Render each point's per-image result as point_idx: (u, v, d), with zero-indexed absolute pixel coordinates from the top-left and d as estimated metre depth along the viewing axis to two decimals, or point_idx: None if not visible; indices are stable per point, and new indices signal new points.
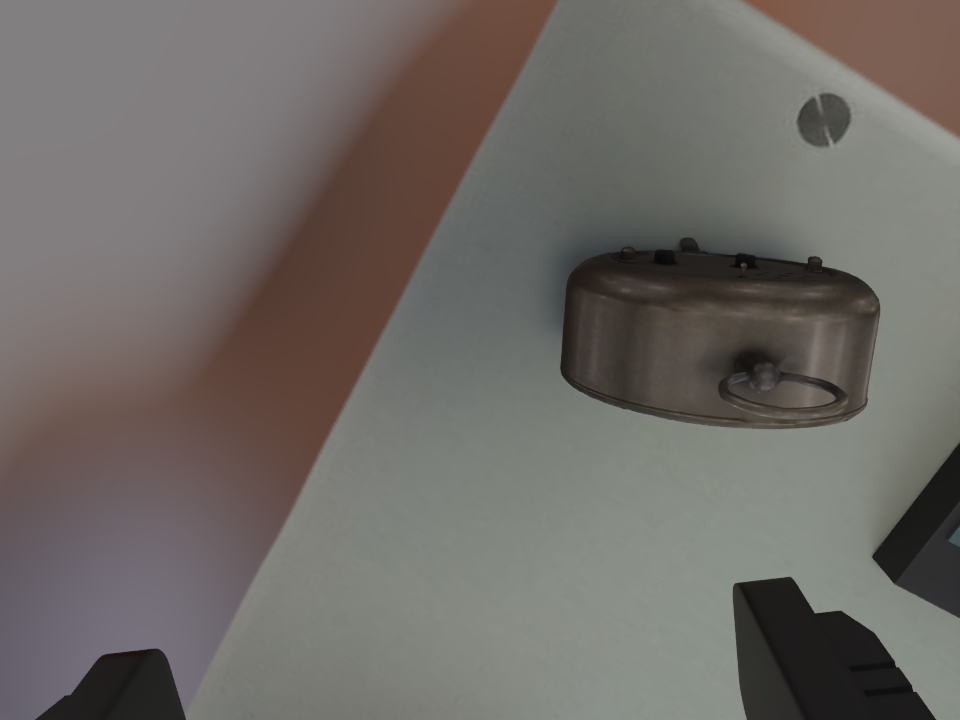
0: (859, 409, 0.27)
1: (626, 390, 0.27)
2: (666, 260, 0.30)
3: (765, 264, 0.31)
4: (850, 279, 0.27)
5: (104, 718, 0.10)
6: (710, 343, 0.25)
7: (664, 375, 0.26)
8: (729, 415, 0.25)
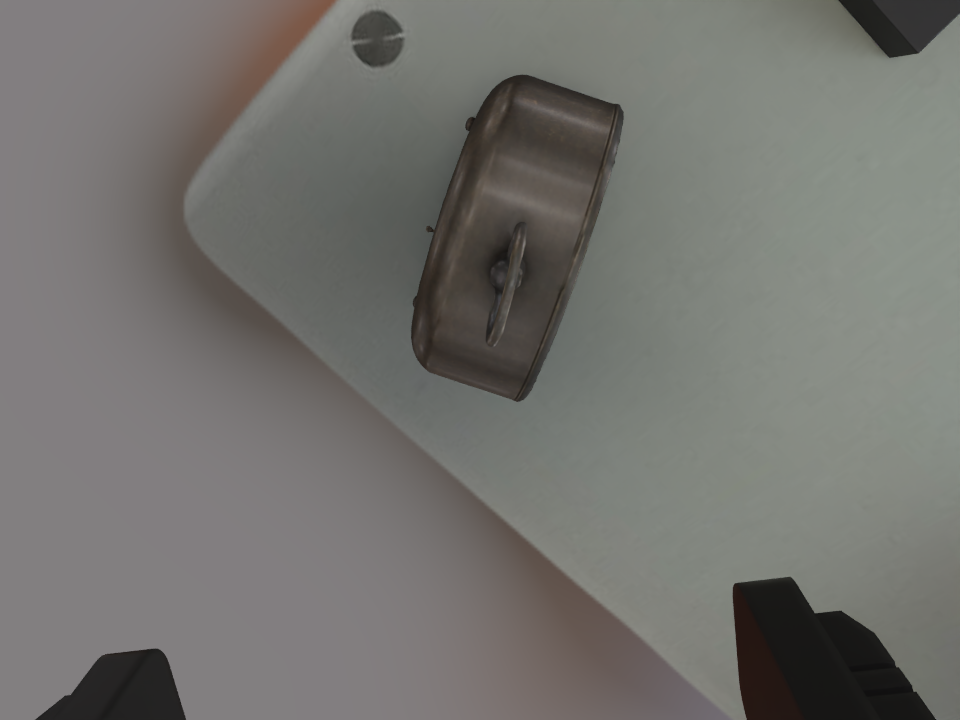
0: (609, 141, 0.25)
1: (515, 376, 0.26)
2: None
3: None
4: (477, 114, 0.26)
5: (104, 718, 0.10)
6: (475, 301, 0.25)
7: (501, 345, 0.25)
8: (553, 300, 0.24)
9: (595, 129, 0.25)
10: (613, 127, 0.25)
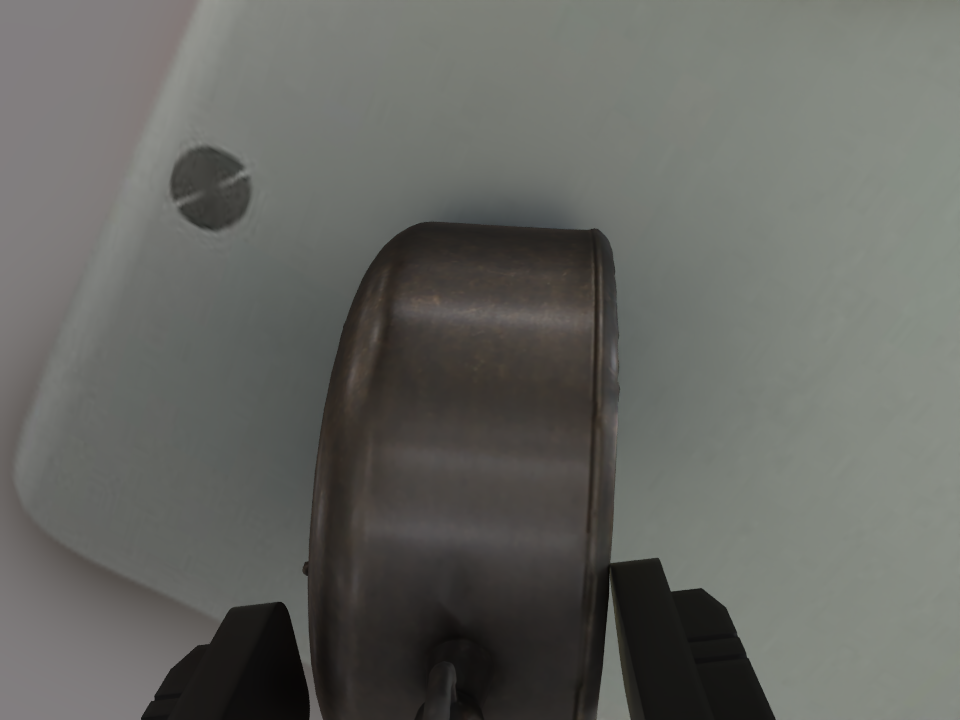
0: (598, 347, 0.12)
1: None
2: None
3: None
4: (339, 342, 0.14)
5: (249, 661, 0.10)
6: None
7: None
8: (569, 707, 0.12)
9: (565, 325, 0.12)
10: (599, 309, 0.13)
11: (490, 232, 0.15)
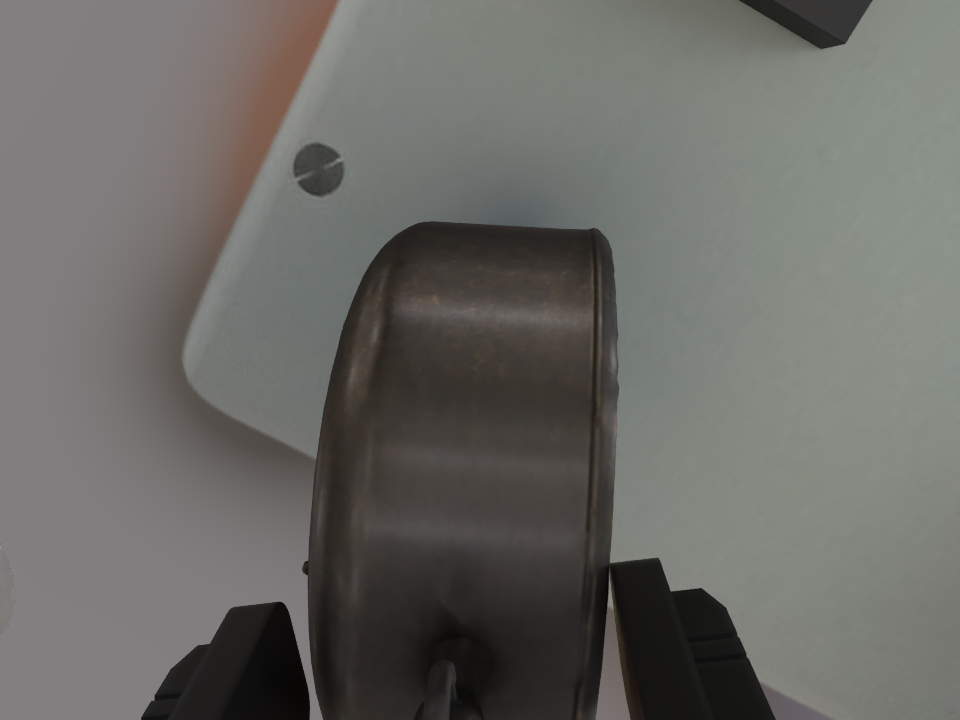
0: (597, 346, 0.12)
1: None
2: None
3: None
4: (339, 341, 0.14)
5: (249, 660, 0.10)
6: None
7: None
8: (568, 706, 0.12)
9: (564, 325, 0.12)
10: (598, 309, 0.13)
11: (489, 232, 0.15)
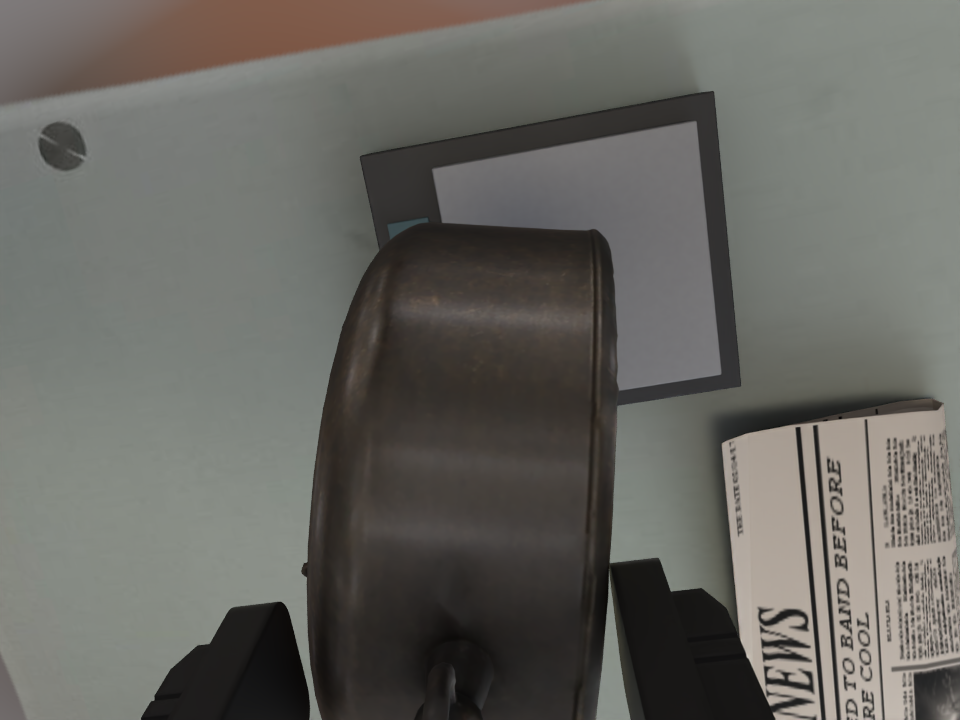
0: (597, 348, 0.12)
1: None
2: None
3: None
4: (338, 342, 0.14)
5: (249, 660, 0.10)
6: None
7: None
8: (568, 708, 0.12)
9: (564, 326, 0.12)
10: (598, 310, 0.13)
11: (489, 232, 0.15)
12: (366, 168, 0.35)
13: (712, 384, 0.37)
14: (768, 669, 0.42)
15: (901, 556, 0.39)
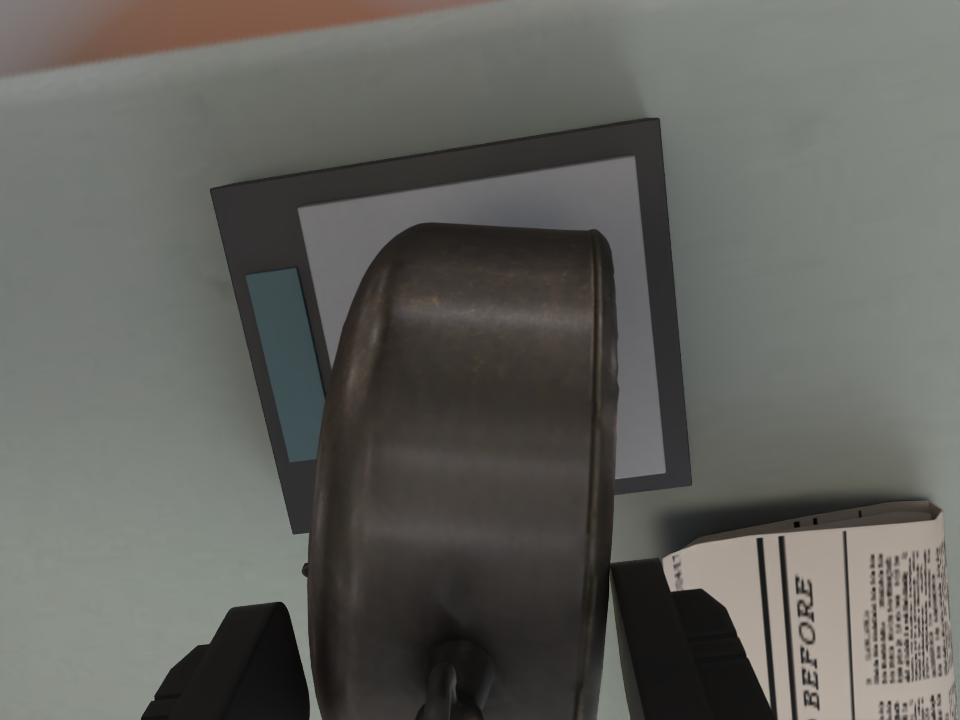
0: (597, 348, 0.12)
1: None
2: None
3: None
4: None
5: (249, 661, 0.10)
6: None
7: None
8: (569, 708, 0.12)
9: (564, 326, 0.12)
10: (599, 310, 0.13)
11: (489, 232, 0.15)
12: (218, 204, 0.27)
13: (656, 482, 0.30)
14: None
15: (887, 695, 0.32)
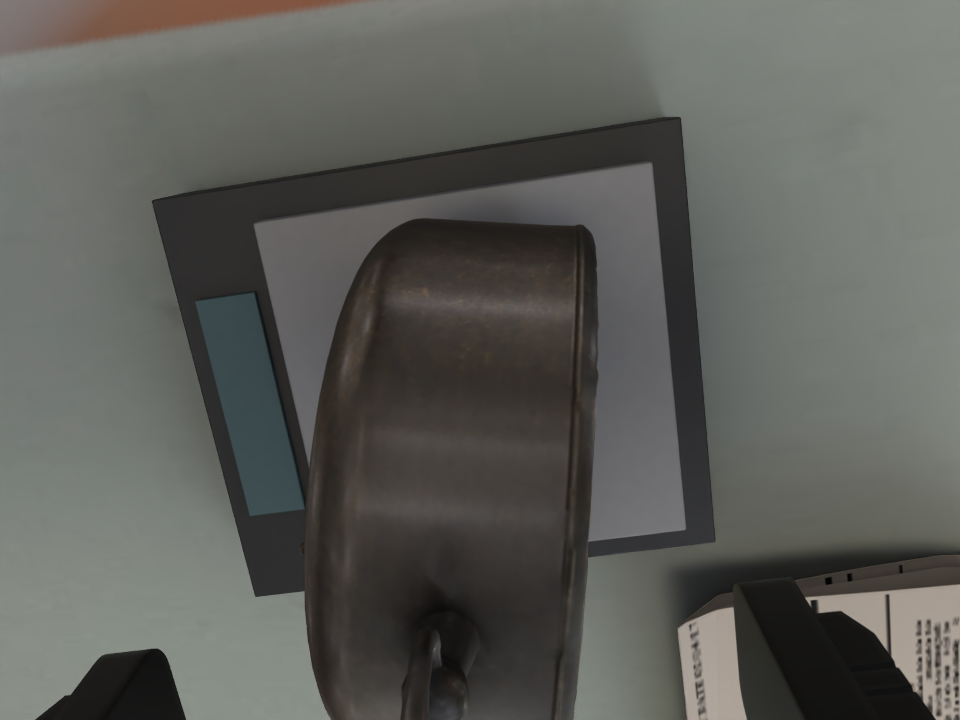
0: (578, 336, 0.13)
1: None
2: None
3: None
4: (334, 332, 0.14)
5: (104, 718, 0.10)
6: None
7: None
8: (550, 677, 0.12)
9: (547, 315, 0.13)
10: (580, 300, 0.13)
11: (479, 228, 0.15)
12: (162, 218, 0.23)
13: (673, 538, 0.26)
14: None
15: None
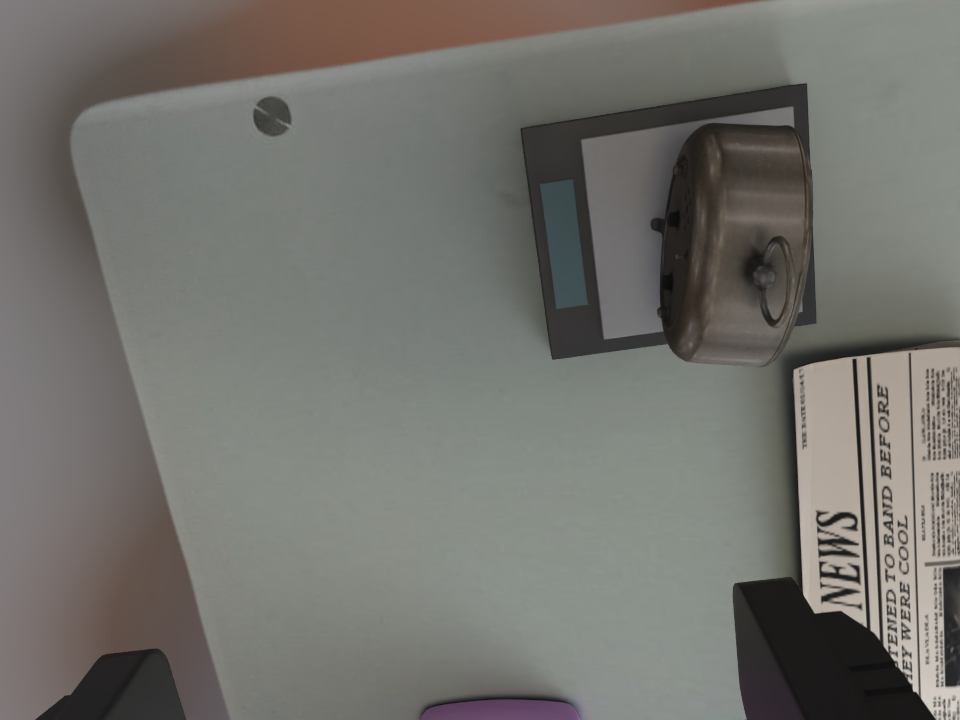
0: (803, 158, 0.33)
1: (769, 347, 0.35)
2: (669, 283, 0.39)
3: (676, 195, 0.39)
4: (693, 164, 0.35)
5: (104, 718, 0.10)
6: (736, 299, 0.33)
7: (758, 326, 0.34)
8: (796, 284, 0.33)
9: (789, 151, 0.33)
10: (801, 146, 0.34)
11: (744, 124, 0.36)
12: (526, 138, 0.44)
13: None
14: (823, 564, 0.51)
15: (935, 468, 0.48)
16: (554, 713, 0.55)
